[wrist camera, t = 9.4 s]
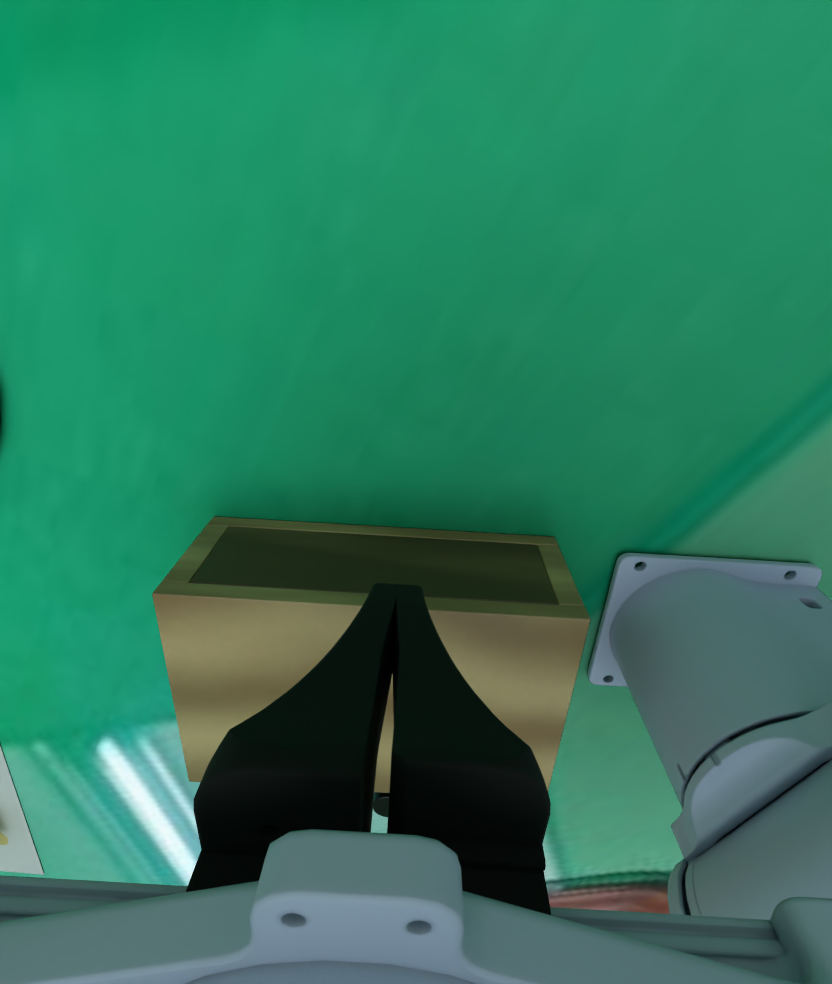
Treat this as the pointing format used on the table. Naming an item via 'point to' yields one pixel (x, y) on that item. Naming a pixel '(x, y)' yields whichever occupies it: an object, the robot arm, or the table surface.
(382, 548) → the cupboard
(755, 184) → the table surface
